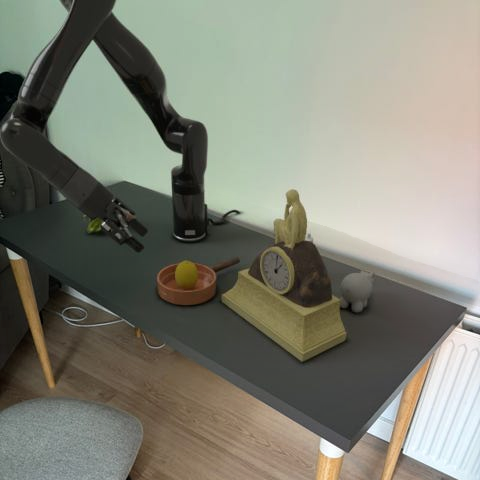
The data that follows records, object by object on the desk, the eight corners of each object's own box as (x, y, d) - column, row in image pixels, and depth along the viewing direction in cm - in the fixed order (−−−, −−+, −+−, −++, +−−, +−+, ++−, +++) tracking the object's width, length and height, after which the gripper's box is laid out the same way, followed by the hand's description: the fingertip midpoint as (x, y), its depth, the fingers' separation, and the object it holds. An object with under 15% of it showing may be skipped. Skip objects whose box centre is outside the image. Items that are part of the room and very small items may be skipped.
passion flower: (103, 240, 160) (113, 203, 160) (125, 244, 153) (135, 206, 153) (73, 229, 151) (83, 190, 151) (95, 233, 144) (106, 192, 144)
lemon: (194, 296, 123) (194, 267, 119) (173, 293, 124) (171, 264, 119) (200, 285, 128) (200, 256, 123) (179, 282, 128) (178, 254, 124)
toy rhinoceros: (381, 297, 126) (388, 266, 121) (359, 317, 118) (365, 286, 113) (355, 287, 130) (361, 257, 125) (332, 306, 122) (337, 275, 117)
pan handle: (236, 260, 136) (236, 254, 135) (241, 263, 135) (241, 257, 134) (204, 274, 129) (204, 267, 128) (209, 276, 128) (209, 270, 127)
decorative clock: (221, 301, 122) (223, 178, 105) (263, 286, 129) (270, 168, 112) (302, 362, 104) (319, 225, 87) (345, 340, 111) (369, 209, 94)
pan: (191, 270, 134) (191, 257, 132) (227, 292, 126) (228, 278, 124) (146, 288, 126) (145, 274, 124) (182, 313, 118) (181, 298, 115)
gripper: (91, 193, 103) (152, 244, 111) (102, 170, 115) (157, 218, 122) (68, 217, 106) (129, 266, 113) (82, 193, 118) (136, 238, 125)
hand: (143, 241), depth 118 cm, fingers open, 8 cm apart
